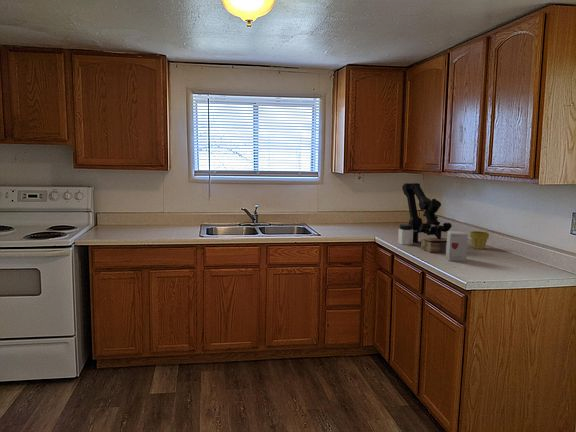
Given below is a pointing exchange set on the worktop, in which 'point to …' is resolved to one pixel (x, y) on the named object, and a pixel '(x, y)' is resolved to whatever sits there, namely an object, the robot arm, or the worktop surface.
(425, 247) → the cardboard box
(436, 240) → the lid
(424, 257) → the worktop surface
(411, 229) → the jar
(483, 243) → the plant pot
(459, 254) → the supplement box
